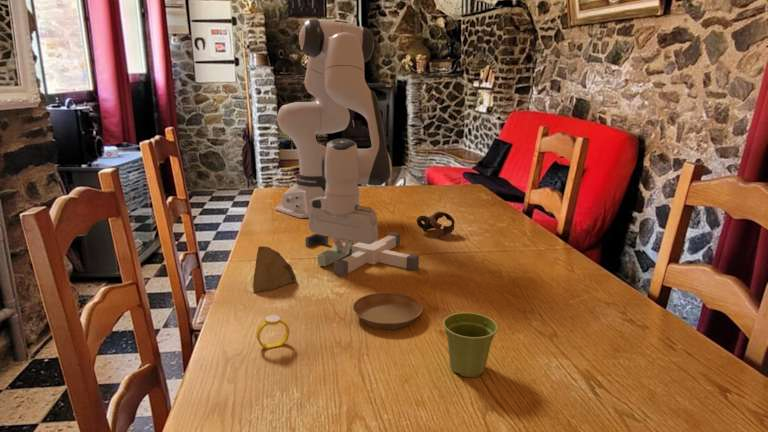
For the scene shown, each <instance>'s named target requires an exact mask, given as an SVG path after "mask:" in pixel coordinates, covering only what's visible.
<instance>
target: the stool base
mask: <svg viewBox="0 0 768 432" xmlns="http://www.w3.org/2000/svg"><path fill="white" fill-rule="evenodd" d="M401 236H402V235H401V233H400V232H394V231H391V232H389V233H388V234H387V236H385V237H383V238H381V239H379V240H376V241H375V242H374V243H372V244H365V243H360V242H356V243H353V245H352V249H351V254H349V255H347V256H345V257H343V258H341V259H338V260H336V261H334V262H333V274H334V275H337V276H342V277H346V276H347V275H348V274H349V273H351V272H353V271H354V270H356V269H358V268H359V267H362V266H363V265H365V264H368V265H369V264H370V265H375V264H376V263H381V264H385V265H390V266H394V267H398V268H402V269H405V270H409V271H413V272H414V271H415V270H417V269H419V267H420V265H419V264H420V261H419V260H420V255H419V254H415V253H411V254H406V253H401V252H398V251H393V250H392V249H394V248H395V247H398V246H401Z"/></svg>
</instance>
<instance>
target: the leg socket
mask: <svg viewBox="0 0 768 432" xmlns="http://www.w3.org/2000/svg"><path fill="white" fill-rule="evenodd" d="M316 244H317V245H323V246H328V245H329V236H327V235H322V234H317V233H313V234H311V235H308V236H306V237H305V247H307V248H308V247H312V246H313V245H316Z"/></svg>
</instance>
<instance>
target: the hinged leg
mask: <svg viewBox="0 0 768 432" xmlns="http://www.w3.org/2000/svg"><path fill="white" fill-rule="evenodd" d="M341 243H342V246H345V244H346V243H344V242H341ZM352 245H354V241H353V242H352V244H351V246H350V247H349V254H347V255H344V254H340V253H337V247H336V245H334V246H333V247H331V248H330V249H326V250H325V251H323V252H320V253H319V254H317V264H318V266H322V267H327V266H329V265H331V264H334V261H336V260H338V259H340V260H342V259H344V258H346V257H348V256H350V255H351V249H352Z"/></svg>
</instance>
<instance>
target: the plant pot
mask: <svg viewBox="0 0 768 432" xmlns="http://www.w3.org/2000/svg"><path fill="white" fill-rule="evenodd" d="M442 326H443V328H444V332H445V335H446V338H447V339H446V340H447V346H448V348H447V349H448V356H449V358H448V359H449V367H450V370H451V372H453V373H456V374H459V375H460V376H462V377H467V378H476V377H479V376H480V375H481V374H482V373H484V372H485V370H486V366H487V362H488V357H489V354H490V348H491V346H492V345H491V344H492V341H493V339H494V338H495V335H496V334H497V332H498V331H499V326H498V323H496V321H495V320H494V319H492V318H490V317H489V316H488V315H487V316H486V315H484V314H481V313H477V312H456V313H451V314H449V315H447V316H445V318H444V319H443V321H442Z"/></svg>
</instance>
